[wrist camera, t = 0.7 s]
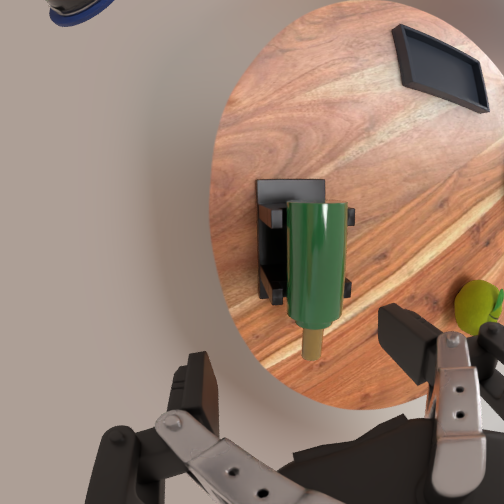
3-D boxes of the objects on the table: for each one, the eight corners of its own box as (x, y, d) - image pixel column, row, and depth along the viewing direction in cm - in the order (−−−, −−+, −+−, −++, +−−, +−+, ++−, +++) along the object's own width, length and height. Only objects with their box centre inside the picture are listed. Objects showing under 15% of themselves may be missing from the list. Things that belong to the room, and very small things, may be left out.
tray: (402, 86, 30) (412, 81, 28) (391, 29, 28) (400, 23, 25) (480, 113, 32) (490, 112, 30) (470, 64, 30) (479, 61, 27)
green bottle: (280, 199, 25) (294, 203, 20) (334, 199, 26) (358, 203, 21) (281, 345, 29) (291, 374, 24) (327, 339, 29) (344, 365, 24)
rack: (255, 179, 32) (268, 177, 23) (322, 179, 32) (356, 178, 24) (258, 296, 35) (271, 331, 26) (320, 291, 36) (348, 322, 27)
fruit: (436, 317, 40) (473, 343, 30) (458, 266, 38) (500, 285, 28) (461, 325, 41) (494, 348, 32) (481, 281, 40) (517, 298, 30)
